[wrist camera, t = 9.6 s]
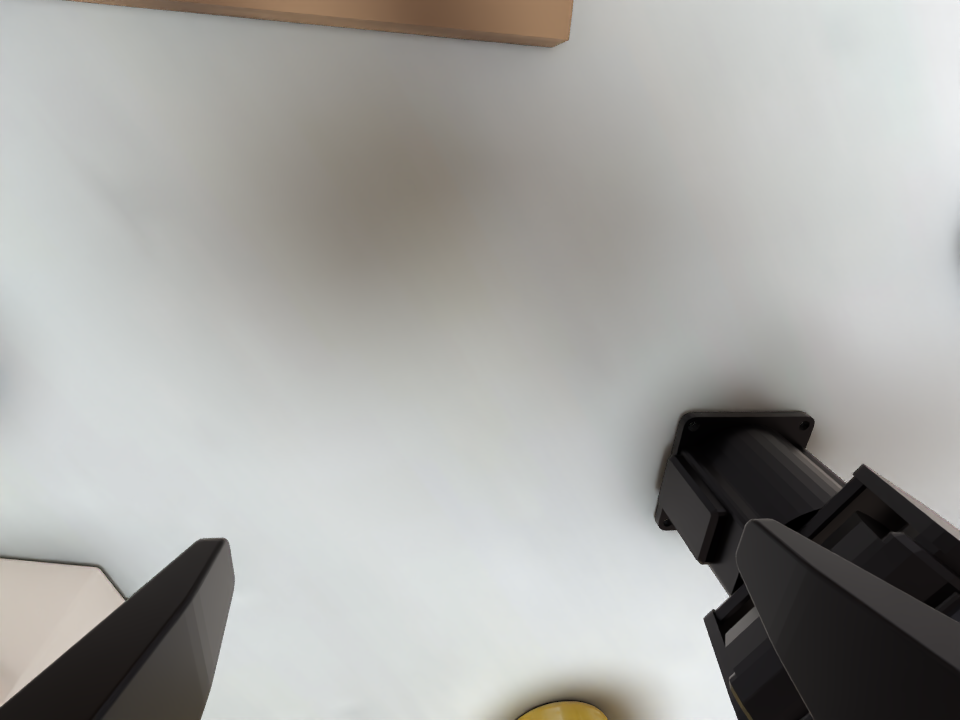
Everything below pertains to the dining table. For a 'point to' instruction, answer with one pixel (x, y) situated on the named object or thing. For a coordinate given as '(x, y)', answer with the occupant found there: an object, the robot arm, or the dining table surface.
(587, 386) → the dining table surface
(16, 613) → the jar
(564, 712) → the plant pot
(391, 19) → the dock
